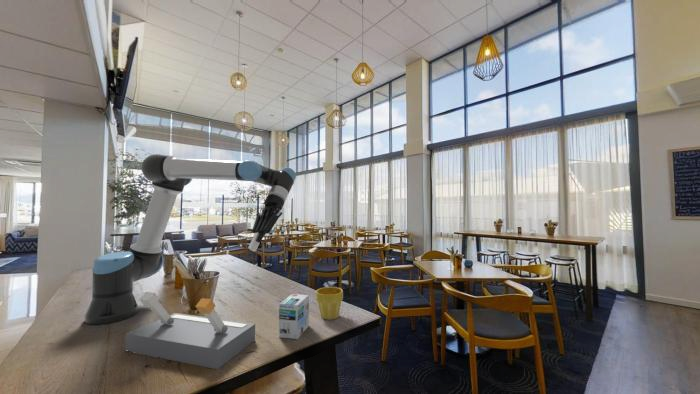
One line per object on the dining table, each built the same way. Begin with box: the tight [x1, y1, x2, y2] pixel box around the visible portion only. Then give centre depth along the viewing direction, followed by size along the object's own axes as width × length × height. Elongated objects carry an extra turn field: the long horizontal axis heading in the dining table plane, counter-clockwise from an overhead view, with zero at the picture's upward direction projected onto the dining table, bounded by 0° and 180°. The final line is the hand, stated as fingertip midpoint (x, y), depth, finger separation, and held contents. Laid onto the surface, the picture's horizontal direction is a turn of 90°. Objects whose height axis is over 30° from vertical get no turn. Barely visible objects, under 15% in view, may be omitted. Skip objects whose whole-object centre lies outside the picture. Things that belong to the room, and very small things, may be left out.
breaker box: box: [125, 312, 256, 370], centre depth 83 cm, size 32×16×5 cm, turn 74°
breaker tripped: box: [195, 297, 228, 333], centre depth 77 cm, size 3×3×13 cm
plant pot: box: [315, 286, 344, 320], centre depth 105 cm, size 10×10×10 cm
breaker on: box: [138, 291, 174, 324], centre depth 83 cm, size 3×3×13 cm
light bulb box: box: [278, 293, 310, 340], centre depth 92 cm, size 11×7×11 cm, turn 168°
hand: (251, 249), depth 100 cm, fingers closed
